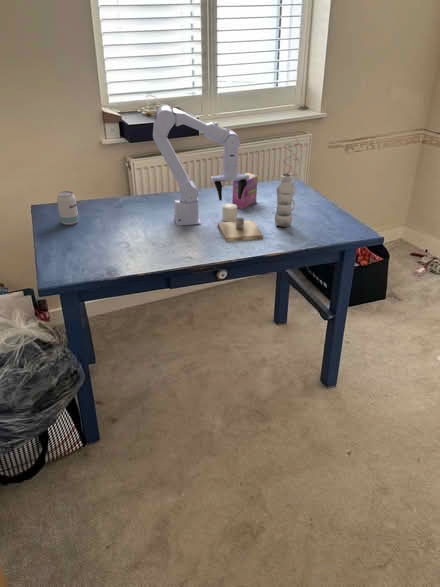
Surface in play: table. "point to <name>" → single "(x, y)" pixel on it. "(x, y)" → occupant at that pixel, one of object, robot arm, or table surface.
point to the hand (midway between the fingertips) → (229, 199)
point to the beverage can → (67, 208)
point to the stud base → (240, 230)
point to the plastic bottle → (284, 201)
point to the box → (245, 192)
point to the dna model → (290, 166)
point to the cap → (229, 212)
